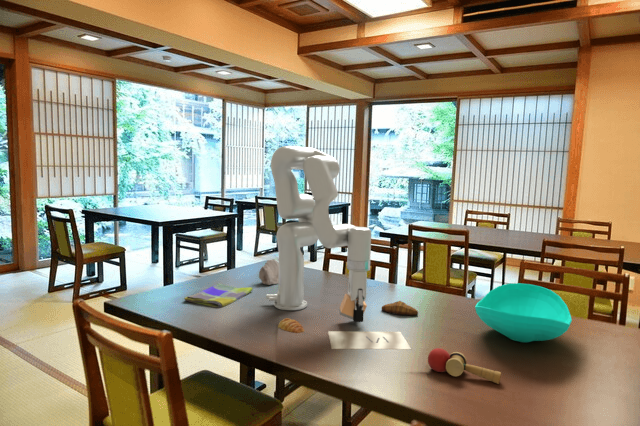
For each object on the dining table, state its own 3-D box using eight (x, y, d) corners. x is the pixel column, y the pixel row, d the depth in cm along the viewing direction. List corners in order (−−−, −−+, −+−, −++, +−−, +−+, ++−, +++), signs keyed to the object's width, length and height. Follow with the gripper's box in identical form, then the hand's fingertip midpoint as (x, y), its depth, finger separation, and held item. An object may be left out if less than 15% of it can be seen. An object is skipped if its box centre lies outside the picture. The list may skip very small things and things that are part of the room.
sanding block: (340, 314, 140) (347, 298, 140) (338, 309, 145) (345, 293, 145) (359, 322, 141) (367, 305, 140) (357, 317, 146) (364, 301, 145)
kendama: (498, 380, 113) (429, 357, 120) (503, 360, 111) (433, 338, 118) (496, 399, 106) (423, 373, 113) (501, 377, 104) (427, 353, 111)
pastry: (310, 335, 136) (310, 323, 136) (293, 340, 132) (293, 328, 131) (291, 326, 143) (291, 315, 143) (275, 331, 139) (275, 319, 138)
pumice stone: (267, 287, 188) (268, 264, 187) (255, 283, 193) (255, 262, 192) (290, 280, 201) (290, 259, 200) (278, 277, 205) (278, 256, 204)
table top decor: (566, 373, 115) (571, 325, 113) (460, 348, 129) (463, 305, 128) (571, 328, 148) (574, 291, 147) (486, 312, 163) (489, 278, 161)
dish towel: (254, 293, 180) (254, 286, 180) (219, 310, 158) (219, 302, 158) (220, 287, 187) (220, 281, 187) (181, 303, 165) (181, 296, 165)
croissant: (379, 314, 158) (379, 301, 158) (383, 308, 165) (383, 295, 164) (416, 319, 154) (417, 306, 153) (419, 313, 160) (419, 300, 160)
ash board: (331, 353, 123) (331, 348, 122) (327, 335, 136) (328, 331, 135) (411, 354, 124) (411, 348, 124) (400, 336, 137) (400, 331, 137)
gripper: (344, 259, 150) (342, 310, 151) (350, 270, 133) (348, 327, 134) (365, 259, 150) (363, 310, 152) (374, 270, 133) (372, 327, 135)
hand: (356, 317), depth 143 cm, fingers closed on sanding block, 5 cm apart
